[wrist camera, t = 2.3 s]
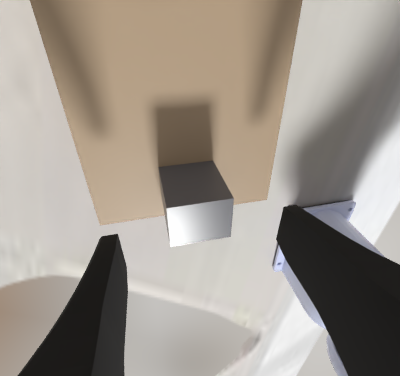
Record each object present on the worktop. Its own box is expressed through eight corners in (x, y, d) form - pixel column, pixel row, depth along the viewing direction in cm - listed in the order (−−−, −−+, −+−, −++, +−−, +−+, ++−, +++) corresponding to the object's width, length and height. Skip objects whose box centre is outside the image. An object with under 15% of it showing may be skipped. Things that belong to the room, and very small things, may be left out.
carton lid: (263, 194, 17) (294, 238, 14) (100, 218, 16) (94, 275, 12) (317, -136, 9) (423, -213, 6) (-17, -169, 7) (-133, -308, 4)
